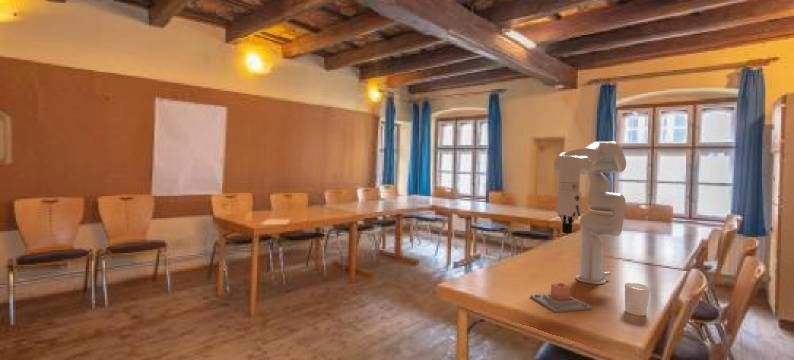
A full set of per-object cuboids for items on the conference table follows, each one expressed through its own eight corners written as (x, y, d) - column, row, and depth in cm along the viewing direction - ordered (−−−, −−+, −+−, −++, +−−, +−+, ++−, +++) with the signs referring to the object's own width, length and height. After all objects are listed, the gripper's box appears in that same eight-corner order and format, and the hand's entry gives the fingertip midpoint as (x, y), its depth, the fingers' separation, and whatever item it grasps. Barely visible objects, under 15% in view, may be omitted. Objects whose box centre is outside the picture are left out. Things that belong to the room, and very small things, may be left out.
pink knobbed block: (561, 297, 158) (562, 281, 157) (569, 302, 153) (570, 285, 152) (550, 298, 156) (551, 281, 156) (558, 303, 151) (559, 285, 151)
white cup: (618, 308, 150) (620, 282, 150) (638, 308, 151) (639, 282, 150) (632, 316, 142) (634, 289, 142) (653, 316, 143) (654, 289, 143)
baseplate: (564, 294, 164) (564, 289, 164) (592, 309, 149) (592, 303, 149) (530, 297, 160) (530, 292, 160) (555, 312, 145) (555, 306, 145)
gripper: (590, 188, 150) (588, 236, 151) (564, 185, 164) (562, 229, 165) (573, 188, 148) (571, 237, 149) (548, 185, 162) (547, 229, 163)
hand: (566, 232), depth 157 cm, fingers closed
